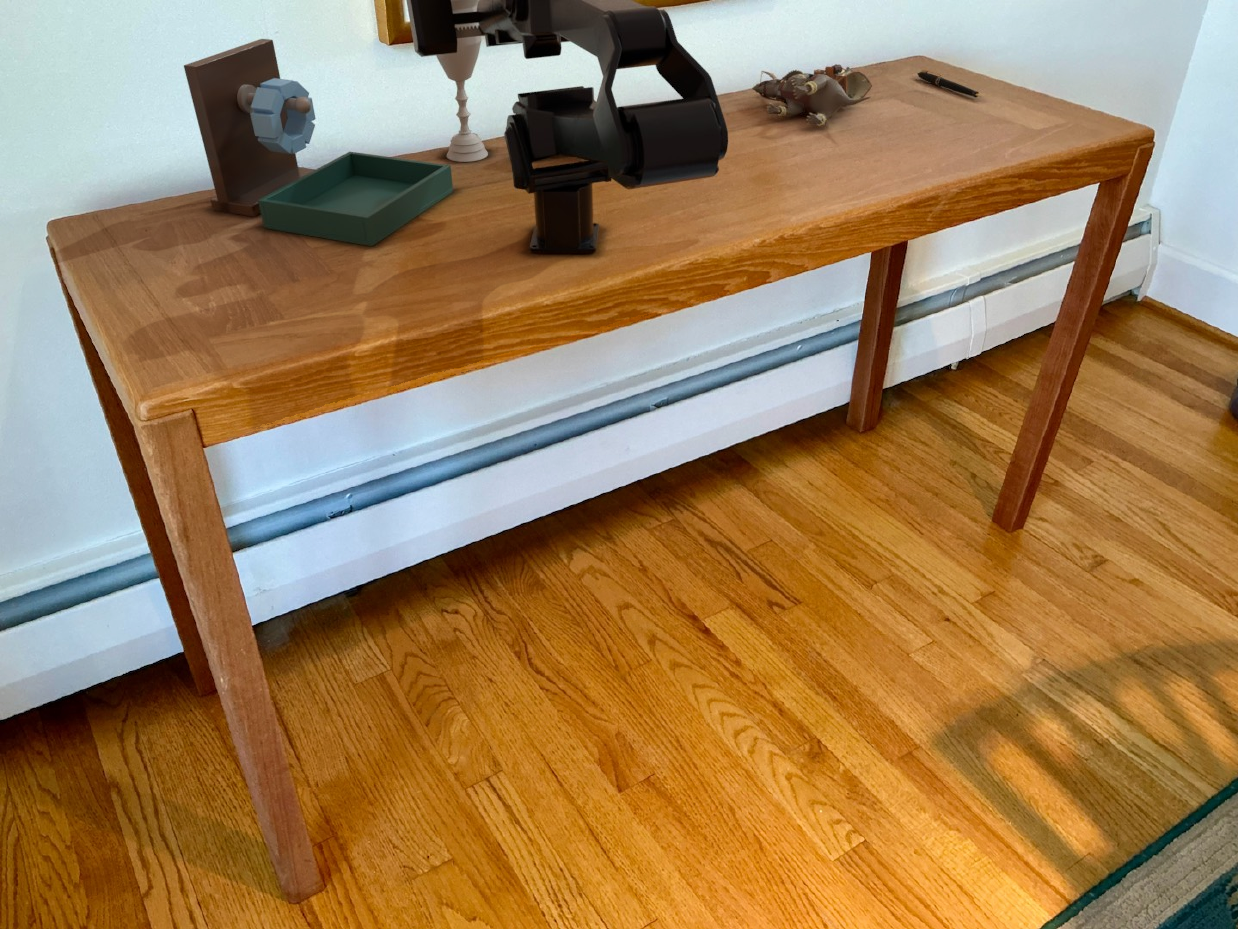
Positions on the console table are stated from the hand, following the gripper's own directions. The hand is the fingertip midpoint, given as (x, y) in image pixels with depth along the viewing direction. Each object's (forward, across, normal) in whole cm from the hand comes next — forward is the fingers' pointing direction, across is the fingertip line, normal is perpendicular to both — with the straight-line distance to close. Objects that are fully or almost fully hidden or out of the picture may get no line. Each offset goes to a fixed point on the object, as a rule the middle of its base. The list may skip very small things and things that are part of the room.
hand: (482, 22), depth 109 cm
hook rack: (+2, +24, +16) cm, 29 cm away
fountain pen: (+8, -69, +14) cm, 71 cm away
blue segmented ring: (-1, +23, +7) cm, 24 cm away
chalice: (+8, +2, +14) cm, 17 cm away
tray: (-4, +17, +17) cm, 25 cm away
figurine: (+7, -47, +14) cm, 49 cm away
